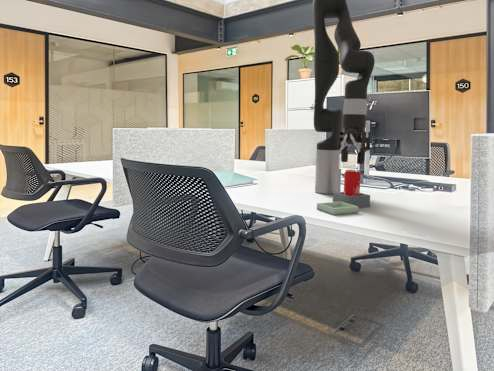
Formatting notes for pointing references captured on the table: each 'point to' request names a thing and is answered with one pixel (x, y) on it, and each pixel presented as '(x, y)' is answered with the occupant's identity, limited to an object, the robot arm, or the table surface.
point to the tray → (337, 208)
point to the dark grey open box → (352, 199)
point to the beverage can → (352, 182)
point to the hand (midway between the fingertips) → (352, 162)
